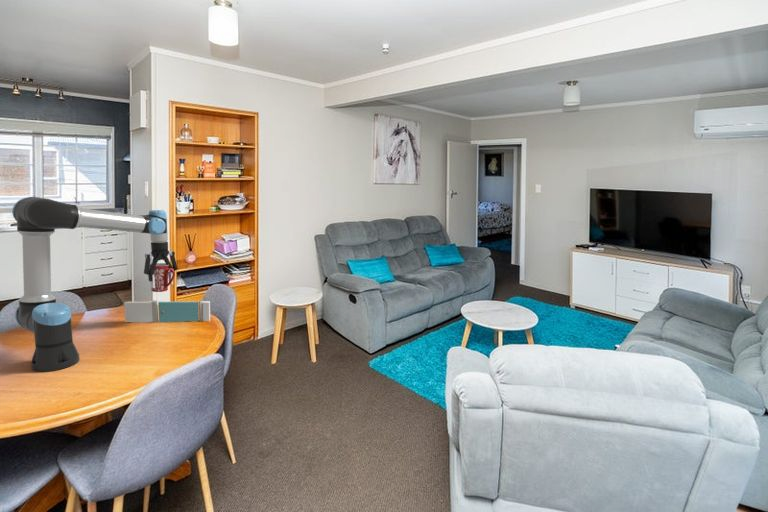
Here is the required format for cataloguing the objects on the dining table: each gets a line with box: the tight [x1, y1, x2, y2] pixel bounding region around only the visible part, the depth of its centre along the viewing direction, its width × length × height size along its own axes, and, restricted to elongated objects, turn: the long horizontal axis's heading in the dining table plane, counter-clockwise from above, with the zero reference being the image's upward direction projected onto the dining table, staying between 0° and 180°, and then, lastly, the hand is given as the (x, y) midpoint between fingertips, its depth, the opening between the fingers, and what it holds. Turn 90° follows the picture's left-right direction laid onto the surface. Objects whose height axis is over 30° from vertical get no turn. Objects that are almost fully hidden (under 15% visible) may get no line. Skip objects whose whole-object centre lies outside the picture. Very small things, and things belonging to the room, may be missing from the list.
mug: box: [150, 262, 176, 293], centre depth 215 cm, size 13×9×14 cm
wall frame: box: [123, 300, 211, 323], centre depth 223 cm, size 2×41×11 cm, turn 99°
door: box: [157, 300, 200, 323], centre depth 223 cm, size 4×19×10 cm, turn 99°
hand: (162, 285), depth 216 cm, fingers closed on mug, 8 cm apart
